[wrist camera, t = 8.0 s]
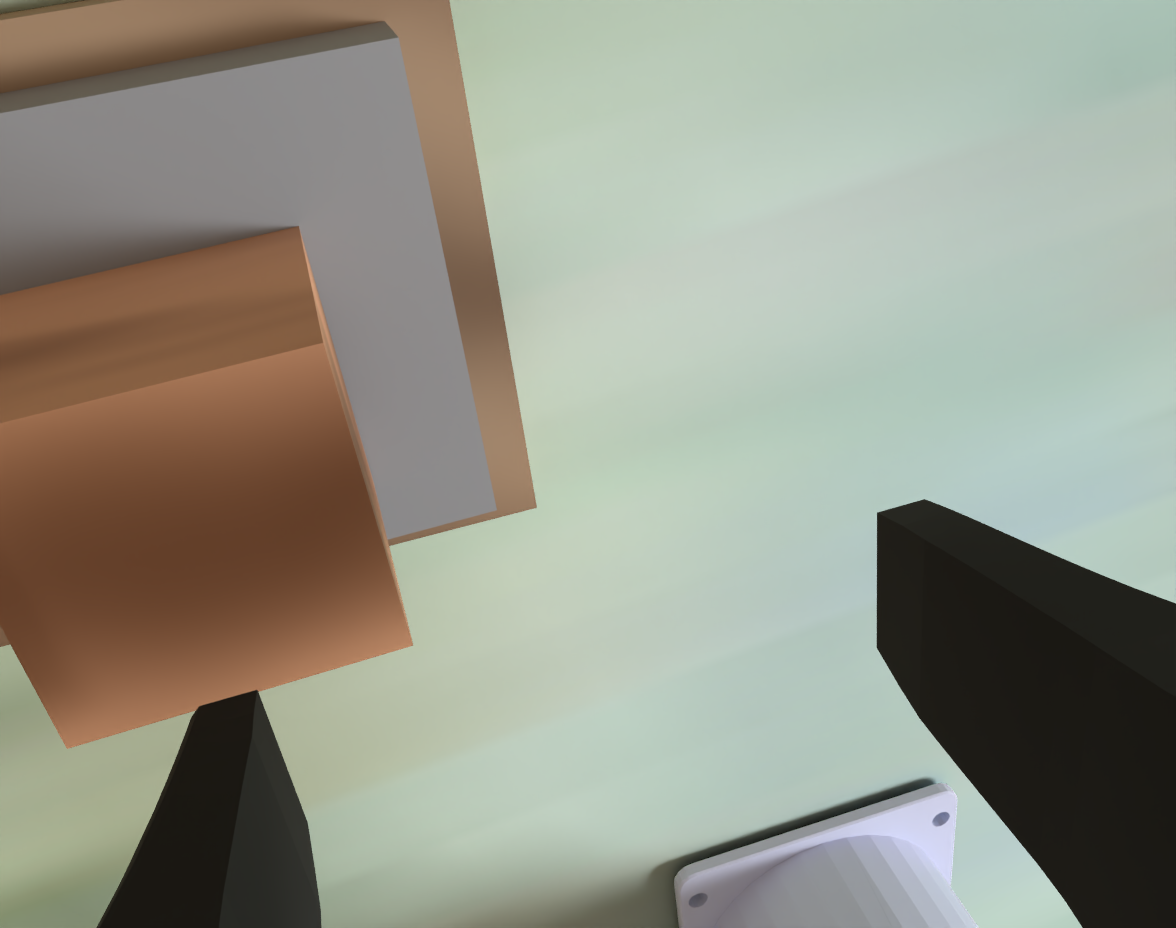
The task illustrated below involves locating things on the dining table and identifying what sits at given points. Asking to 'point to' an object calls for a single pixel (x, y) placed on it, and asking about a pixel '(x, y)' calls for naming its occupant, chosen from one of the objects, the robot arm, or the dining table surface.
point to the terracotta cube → (183, 489)
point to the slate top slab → (270, 223)
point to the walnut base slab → (427, 39)
